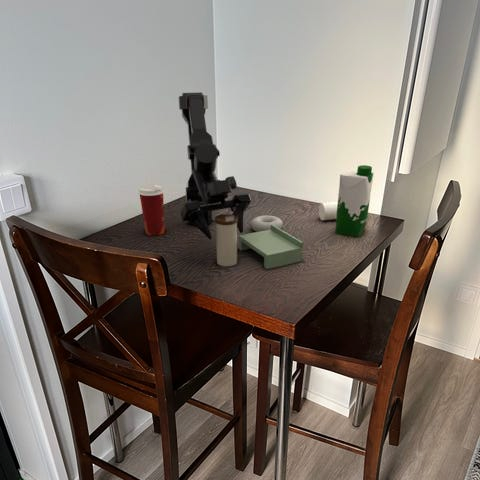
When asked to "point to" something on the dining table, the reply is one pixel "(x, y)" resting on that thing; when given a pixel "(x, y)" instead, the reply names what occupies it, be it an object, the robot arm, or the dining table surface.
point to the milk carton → (354, 200)
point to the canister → (226, 239)
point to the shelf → (273, 246)
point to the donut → (265, 223)
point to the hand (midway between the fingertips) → (226, 235)
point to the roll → (328, 211)
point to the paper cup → (152, 208)
